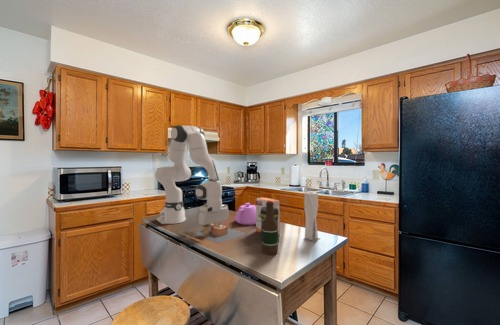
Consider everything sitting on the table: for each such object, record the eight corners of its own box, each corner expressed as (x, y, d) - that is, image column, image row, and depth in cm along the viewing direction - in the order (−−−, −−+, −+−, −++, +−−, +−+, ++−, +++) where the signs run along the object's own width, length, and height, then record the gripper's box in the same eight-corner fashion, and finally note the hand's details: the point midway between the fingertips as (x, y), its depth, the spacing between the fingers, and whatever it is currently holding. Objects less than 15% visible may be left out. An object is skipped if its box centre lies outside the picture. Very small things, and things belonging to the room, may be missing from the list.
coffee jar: (281, 241, 128) (281, 207, 128) (271, 245, 123) (271, 209, 122) (267, 237, 135) (267, 204, 135) (258, 241, 130) (257, 206, 129)
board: (192, 234, 141) (192, 233, 140) (220, 227, 156) (220, 225, 156) (218, 245, 124) (218, 243, 124) (247, 235, 139) (247, 233, 139)
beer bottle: (260, 249, 118) (260, 200, 118) (276, 248, 119) (276, 200, 118) (263, 255, 111) (262, 203, 110) (279, 254, 111) (279, 203, 111)
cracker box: (255, 233, 143) (255, 198, 143) (262, 230, 148) (262, 196, 147) (273, 238, 133) (272, 201, 133) (280, 236, 137) (280, 199, 137)
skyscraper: (300, 239, 133) (300, 188, 132) (307, 235, 139) (307, 187, 138) (315, 242, 127) (315, 190, 127) (321, 238, 134) (321, 188, 133)
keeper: (209, 238, 134) (208, 227, 134) (203, 239, 133) (203, 227, 133) (207, 235, 139) (207, 224, 139) (202, 236, 138) (202, 224, 138)
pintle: (217, 235, 139) (217, 225, 139) (220, 234, 140) (220, 224, 140) (219, 236, 137) (219, 226, 137) (222, 235, 139) (222, 225, 139)
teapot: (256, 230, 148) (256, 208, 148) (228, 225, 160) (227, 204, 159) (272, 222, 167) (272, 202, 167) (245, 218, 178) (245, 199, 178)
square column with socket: (227, 233, 139) (227, 227, 139) (219, 236, 135) (219, 229, 134) (210, 228, 150) (210, 221, 150) (202, 230, 146) (202, 223, 145)
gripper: (224, 203, 152) (224, 224, 152) (197, 208, 137) (197, 232, 137) (231, 204, 147) (231, 226, 148) (203, 209, 132) (203, 234, 133)
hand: (214, 229), depth 142 cm, fingers open, 4 cm apart
